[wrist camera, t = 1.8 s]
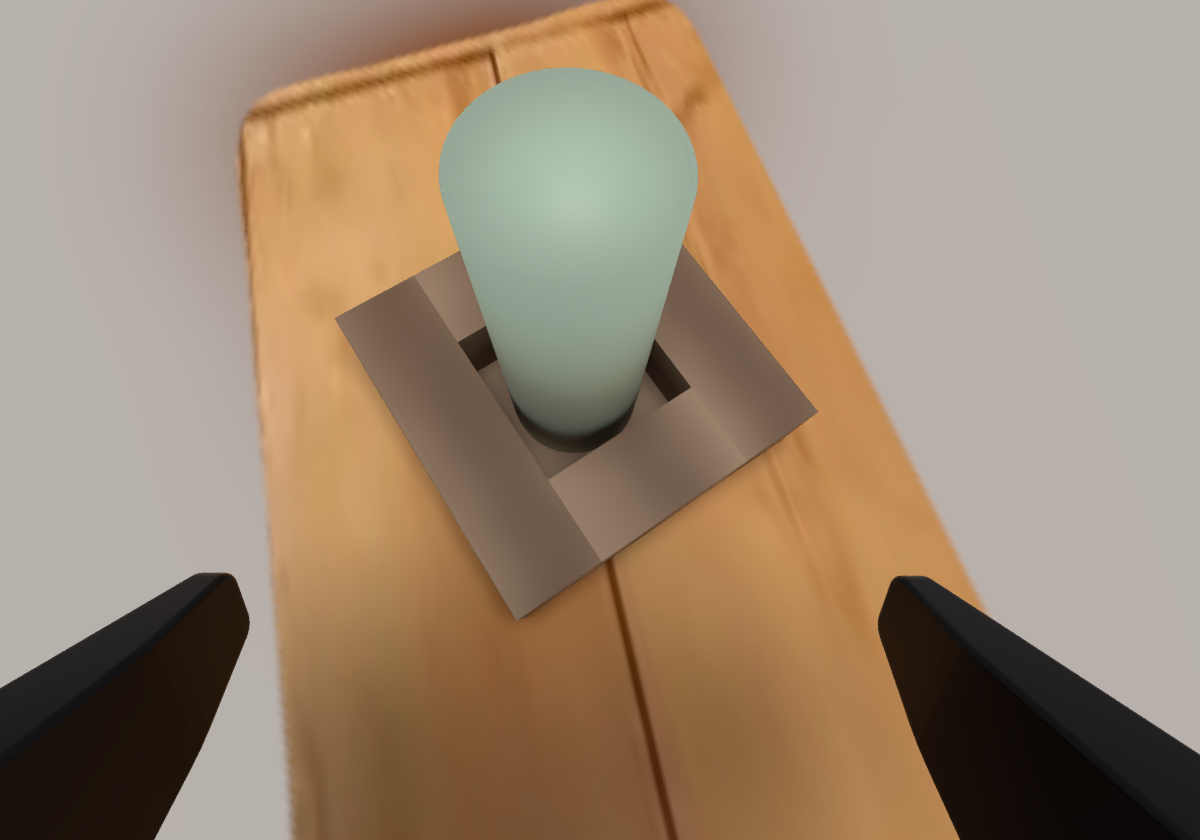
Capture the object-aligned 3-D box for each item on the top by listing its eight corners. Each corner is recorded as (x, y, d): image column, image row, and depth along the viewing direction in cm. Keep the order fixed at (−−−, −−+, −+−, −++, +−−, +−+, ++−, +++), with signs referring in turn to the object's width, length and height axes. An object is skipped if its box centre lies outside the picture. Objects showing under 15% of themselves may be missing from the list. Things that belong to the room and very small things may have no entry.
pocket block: (526, 616, 21) (516, 621, 17) (369, 358, 23) (334, 318, 20) (783, 438, 23) (818, 411, 20) (613, 221, 26) (618, 165, 22)
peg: (556, 476, 22) (528, 330, 10) (490, 377, 23) (391, 135, 11) (659, 410, 23) (749, 201, 11) (591, 317, 24) (603, 33, 12)
